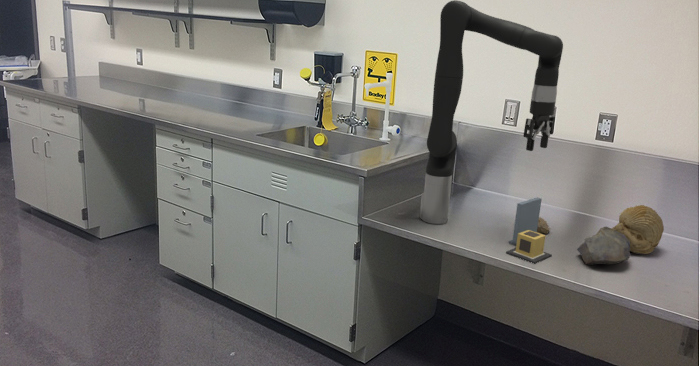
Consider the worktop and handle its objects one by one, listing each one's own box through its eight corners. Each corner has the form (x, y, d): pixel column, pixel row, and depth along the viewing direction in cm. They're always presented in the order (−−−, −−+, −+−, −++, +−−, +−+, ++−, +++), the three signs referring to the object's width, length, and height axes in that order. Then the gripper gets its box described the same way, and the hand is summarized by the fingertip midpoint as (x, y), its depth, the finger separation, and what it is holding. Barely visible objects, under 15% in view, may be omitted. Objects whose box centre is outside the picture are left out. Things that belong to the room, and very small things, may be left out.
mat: (505, 253, 182) (506, 251, 182) (523, 246, 188) (523, 244, 188) (534, 263, 175) (534, 261, 174) (551, 256, 181) (551, 254, 181)
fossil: (594, 242, 195) (602, 199, 191) (633, 237, 202) (641, 196, 198) (630, 259, 182) (639, 214, 178) (670, 254, 188) (680, 210, 184)
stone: (588, 214, 187) (639, 224, 179) (584, 243, 191) (634, 255, 183) (572, 236, 173) (627, 249, 165) (568, 267, 177) (621, 280, 169)
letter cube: (515, 251, 181) (517, 233, 180) (526, 247, 185) (528, 229, 184) (532, 258, 177) (534, 239, 175) (542, 253, 181) (545, 234, 180)
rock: (532, 235, 200) (534, 223, 198) (519, 223, 210) (521, 212, 209) (553, 235, 201) (555, 223, 199) (540, 224, 211) (541, 212, 210)
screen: (508, 243, 190) (514, 202, 187) (528, 235, 198) (534, 196, 195) (519, 246, 188) (525, 205, 184) (539, 239, 195) (544, 199, 192)
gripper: (544, 97, 193) (537, 144, 198) (520, 99, 184) (514, 149, 188) (565, 100, 188) (558, 149, 192) (542, 102, 179) (535, 153, 183)
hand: (536, 149), depth 190 cm, fingers open, 8 cm apart
